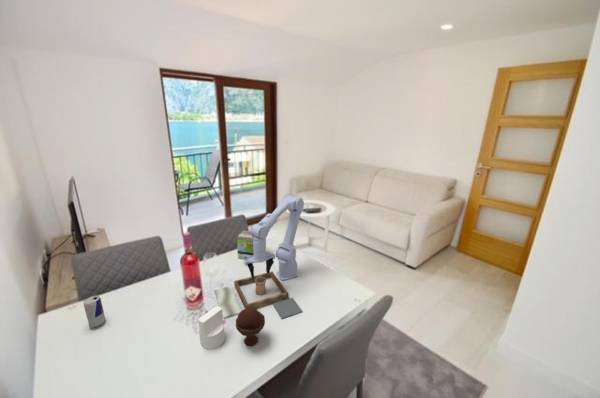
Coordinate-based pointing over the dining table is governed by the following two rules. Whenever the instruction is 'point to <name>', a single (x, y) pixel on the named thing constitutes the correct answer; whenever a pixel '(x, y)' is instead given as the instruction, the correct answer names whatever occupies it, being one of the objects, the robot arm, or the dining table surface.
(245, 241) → the tea box
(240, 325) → the ice cream bowl
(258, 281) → the terracotta pot
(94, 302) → the energy drink
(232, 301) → the frame
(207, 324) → the cylinder with rectangular tab
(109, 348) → the dining table surface
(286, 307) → the mat
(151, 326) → the dining table surface
